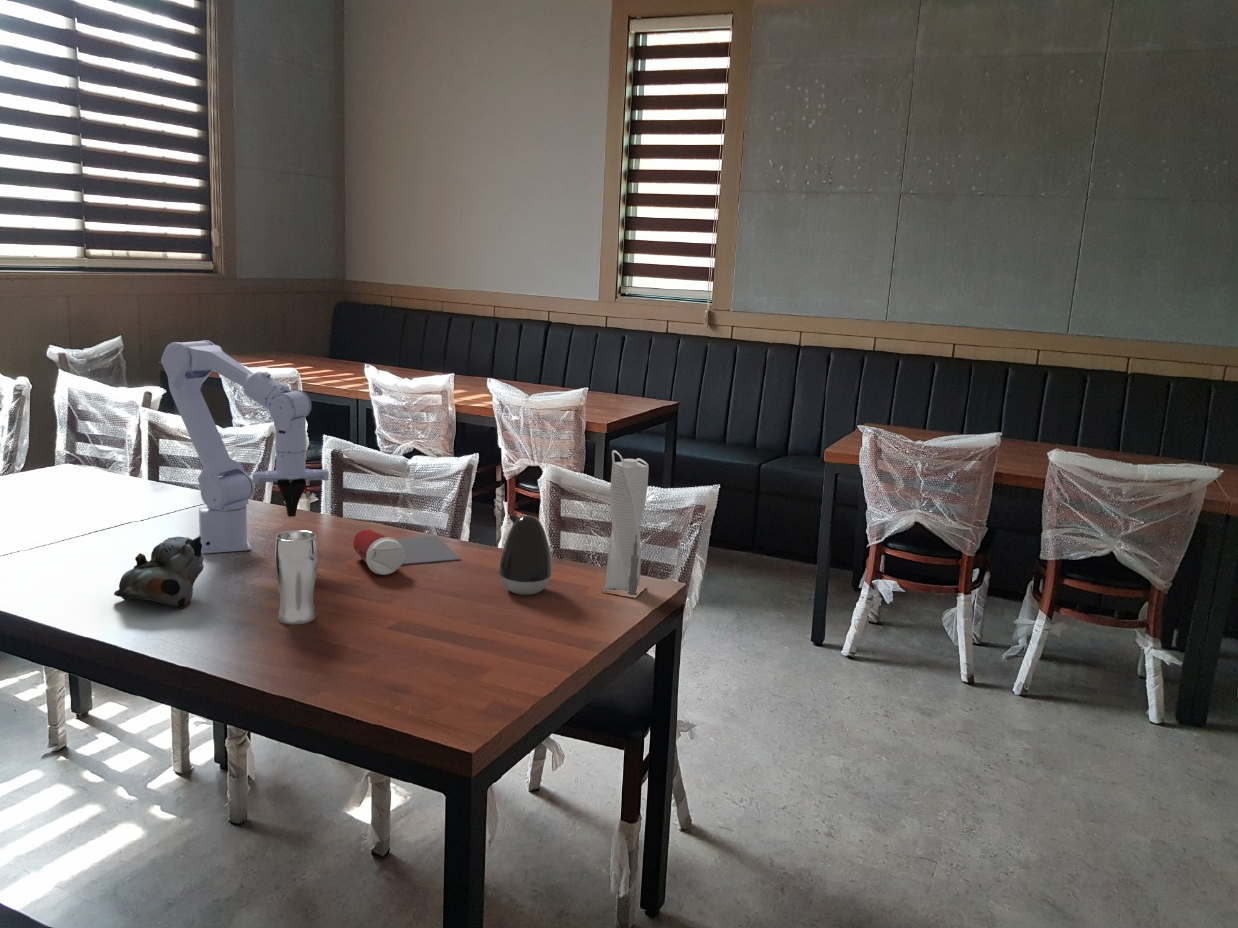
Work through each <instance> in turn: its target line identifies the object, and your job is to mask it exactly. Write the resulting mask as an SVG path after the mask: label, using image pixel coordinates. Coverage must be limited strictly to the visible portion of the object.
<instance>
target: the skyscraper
mask: <svg viewBox="0 0 1238 928" xmlns="http://www.w3.org/2000/svg"><path fill="white" fill-rule="evenodd" d="M615 454H617V455H618V456H619V459H620V461H615ZM611 460H612V463H611V473H610V474H611V475H610V489H609V490H610V492H609V493H610V495H609V498H610V499H609V502H610V503H609V506H610V507H609V508H610V520H611V534H610V538H609V539H610V540H609V546H608V554H607V564H606V565H607V566H606V577H605V588H604V589H603V590H601V592H602V591H605V592H610V591H611V590H625V591H629V592H628V594H630V595H637V593H636V590H637V586H638V585H640V583H641V582H640V580H641V566H642V565H641V564H642V563H641V561H642V560H641V559H642V547H641V544H642V543H641V542H642V541H641V540H642V539H641V527H640V525H641V523H642V522H641V521H642V519H643V515H644V511H645V506H646V501H647V493H648V483H649V471H650V470H649V466H650V465H649V463H648V462H646V461H645V460H643V459H642V458H638V457H637V458H636V459H634V458H623V456H622V455H621V454H620V453H619V452H618V451H617V450H614V449H613V450H612V451H611ZM645 586H646V585H645ZM646 587H647V588H648V586H646ZM613 593H615V592H613Z"/></svg>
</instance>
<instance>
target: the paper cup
mask: <svg viewBox="0 0 1238 928" xmlns="http://www.w3.org/2000/svg"><path fill="white" fill-rule="evenodd" d="M396 539H397V538H394V537H390V536H389V537H388V536H386V535H384V534H381V533H380V532H377V531H375V530H372V529H367V528H366V529H362V530H359V531H358V532H357V533H356V534H355V536H354V537H353V539H352V547H353V549H354V551H355V553H356V554H357V555H358V556H359V557H360V558H361V559H362V560H363V561H364V562H365V563H366V564H367V567H368V569H369V570H370V571H371V572H373V573H374V574H377V575H381V576H385V575H390V574H392V573H394V572H396V571H397V570H398V569H399V568H400V567H401V566H403V565H402V563H403V561H404V555H405V554H404V550H403V547H402V545H401V544H400V543H399V542H398V541H397V540H396Z"/></svg>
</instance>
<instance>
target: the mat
mask: <svg viewBox="0 0 1238 928" xmlns="http://www.w3.org/2000/svg"><path fill="white" fill-rule="evenodd" d="M395 539H396V540H397V541H398V542H399V543H400V544H401V545H402V547H403V550H404V554H405V555H404V561H403V563H402V565H401V566H409V565H419V564H421V565H422V564H430V563H441V562H442V563H443V562H444V561H445V562H455V561H456V562H457V561H461V560H462V558H460V556H459V555H457V553H456V552H454V551H453V549H451V548H450V547H449V546H448V545H447V544H446V543H445V542H444V541H443V540H442V539H441V538H439V536H437V535H431V536H418V537H405V538H395Z"/></svg>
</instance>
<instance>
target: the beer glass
mask: <svg viewBox="0 0 1238 928" xmlns="http://www.w3.org/2000/svg"><path fill="white" fill-rule="evenodd" d="M274 545H275V546H274V569H275V575H276V581H277V586H278V591H279V595H280V597H279V598H280V600H279V602H280V603H279V605H280V606H279V611H278V617H277V618H278V619H277V620H278V621H279V623H282V624H285V625H290V626H291V625H292V626H297V625H304V624H308V623H311V622H313V621H314V620H315V619H316V613H315V607H314V598H313V597H314V588H315V583H316V577H317V571H318V564H319V563H318V561H319V560H318V554H319V553H318V543H317V534H316V533H315V532H313V531H310V530H302V529H301V530H300V529H297V530H296V529H295V530H285V531H281V532H279V533H277V534H276V535H275V544H274Z"/></svg>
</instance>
